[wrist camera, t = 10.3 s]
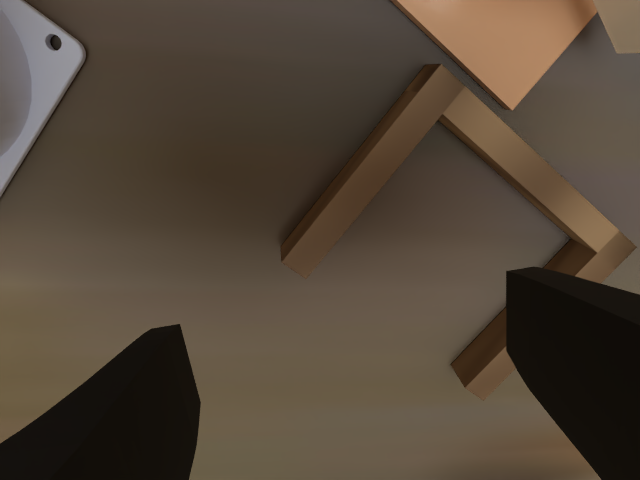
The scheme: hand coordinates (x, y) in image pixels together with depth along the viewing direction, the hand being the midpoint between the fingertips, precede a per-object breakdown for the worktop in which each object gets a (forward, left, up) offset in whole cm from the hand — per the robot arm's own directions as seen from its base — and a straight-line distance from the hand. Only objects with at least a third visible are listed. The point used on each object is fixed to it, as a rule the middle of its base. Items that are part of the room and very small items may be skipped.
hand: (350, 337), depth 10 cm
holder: (+6, +2, -10) cm, 12 cm away
